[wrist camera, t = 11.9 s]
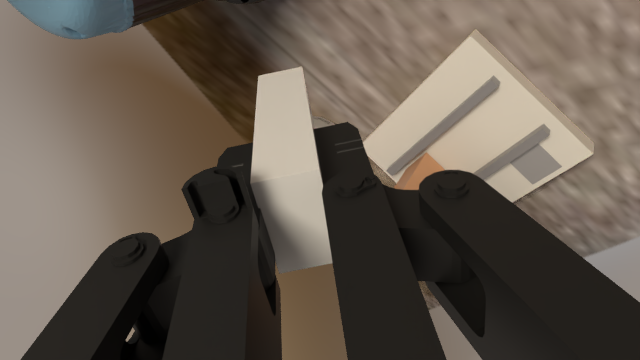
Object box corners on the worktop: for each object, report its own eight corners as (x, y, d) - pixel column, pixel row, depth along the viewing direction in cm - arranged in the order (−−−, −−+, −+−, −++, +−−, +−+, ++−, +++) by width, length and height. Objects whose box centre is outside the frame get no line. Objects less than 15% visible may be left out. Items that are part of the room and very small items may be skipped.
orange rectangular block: (406, 168, 46) (338, 272, 34) (426, 151, 43) (360, 257, 32) (434, 195, 46) (376, 308, 34) (456, 180, 44) (401, 295, 32)
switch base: (365, 138, 49) (354, 151, 47) (475, 28, 38) (467, 38, 36) (458, 226, 49) (451, 243, 47) (594, 143, 38) (593, 160, 36)
